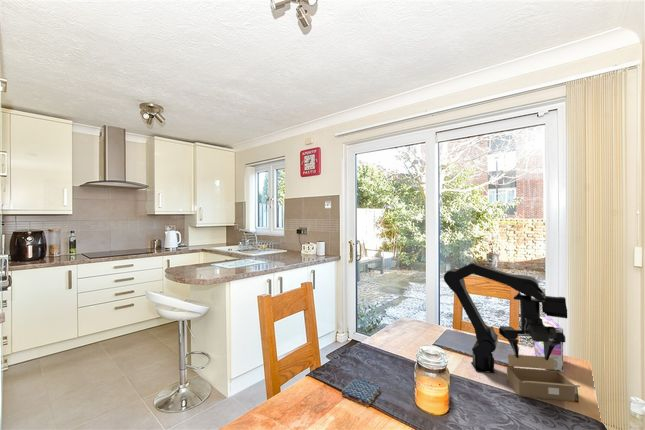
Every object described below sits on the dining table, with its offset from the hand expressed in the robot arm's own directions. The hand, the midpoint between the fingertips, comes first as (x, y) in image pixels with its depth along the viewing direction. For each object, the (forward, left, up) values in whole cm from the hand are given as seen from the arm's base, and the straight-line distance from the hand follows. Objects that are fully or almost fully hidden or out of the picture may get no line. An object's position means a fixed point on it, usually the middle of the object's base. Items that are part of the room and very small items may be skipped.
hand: (531, 358), depth 104 cm
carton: (0, -5, -9) cm, 10 cm away
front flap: (0, -11, -2) cm, 12 cm away
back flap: (0, 0, -1) cm, 1 cm away
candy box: (+14, +17, -9) cm, 23 cm away
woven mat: (-59, -16, -9) cm, 61 cm away
